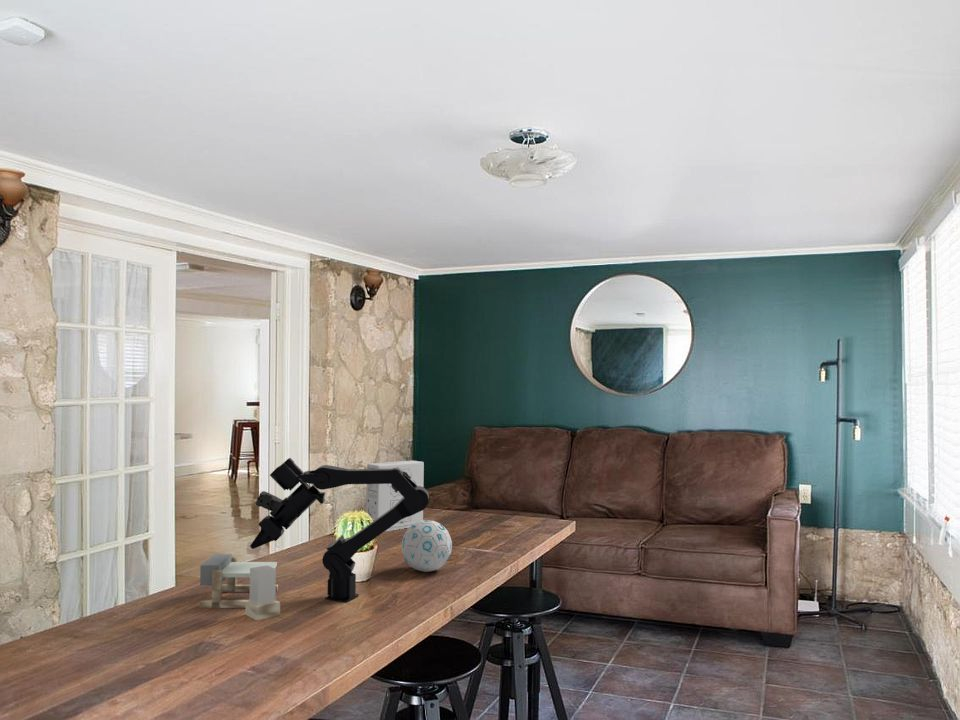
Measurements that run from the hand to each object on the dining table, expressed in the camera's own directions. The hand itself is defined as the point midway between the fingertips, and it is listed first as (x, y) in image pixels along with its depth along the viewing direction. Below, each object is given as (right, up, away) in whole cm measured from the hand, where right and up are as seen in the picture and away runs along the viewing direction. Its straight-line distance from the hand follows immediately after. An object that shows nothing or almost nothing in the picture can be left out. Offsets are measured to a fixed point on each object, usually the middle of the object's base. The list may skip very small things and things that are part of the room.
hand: (253, 545), depth 200 cm
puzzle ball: (+43, -15, +31) cm, 55 cm away
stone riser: (+6, -13, -14) cm, 20 cm away
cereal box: (+26, -17, +95) cm, 100 cm away
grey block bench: (-3, -14, 0) cm, 14 cm away
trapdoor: (-3, -9, 0) cm, 9 cm away
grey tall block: (+6, -10, -14) cm, 18 cm away
